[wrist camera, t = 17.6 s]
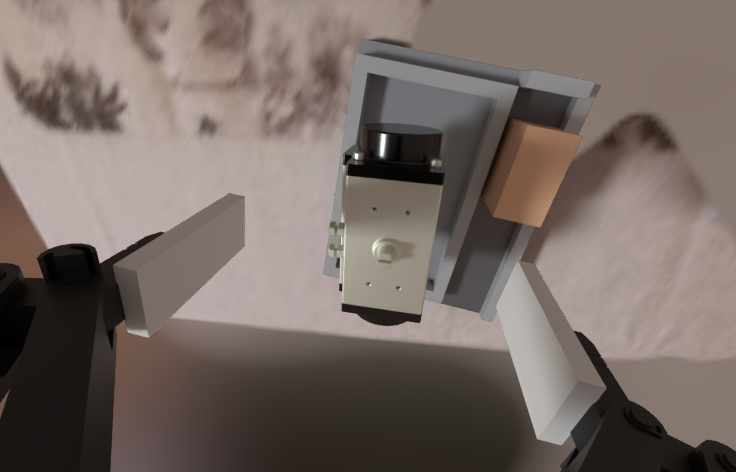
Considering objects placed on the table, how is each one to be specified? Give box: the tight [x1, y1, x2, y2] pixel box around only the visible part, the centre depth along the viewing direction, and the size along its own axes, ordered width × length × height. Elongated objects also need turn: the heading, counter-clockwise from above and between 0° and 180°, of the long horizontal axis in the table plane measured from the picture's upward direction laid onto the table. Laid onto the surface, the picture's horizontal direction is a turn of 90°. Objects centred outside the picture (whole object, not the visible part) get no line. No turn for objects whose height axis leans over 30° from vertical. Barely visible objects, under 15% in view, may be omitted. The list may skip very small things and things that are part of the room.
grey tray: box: [323, 39, 600, 322], centre depth 26 cm, size 20×16×4 cm
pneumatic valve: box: [329, 123, 445, 326], centre depth 22 cm, size 6×12×12 cm, turn 177°
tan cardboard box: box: [482, 118, 583, 227], centre depth 23 cm, size 6×3×4 cm, turn 169°
